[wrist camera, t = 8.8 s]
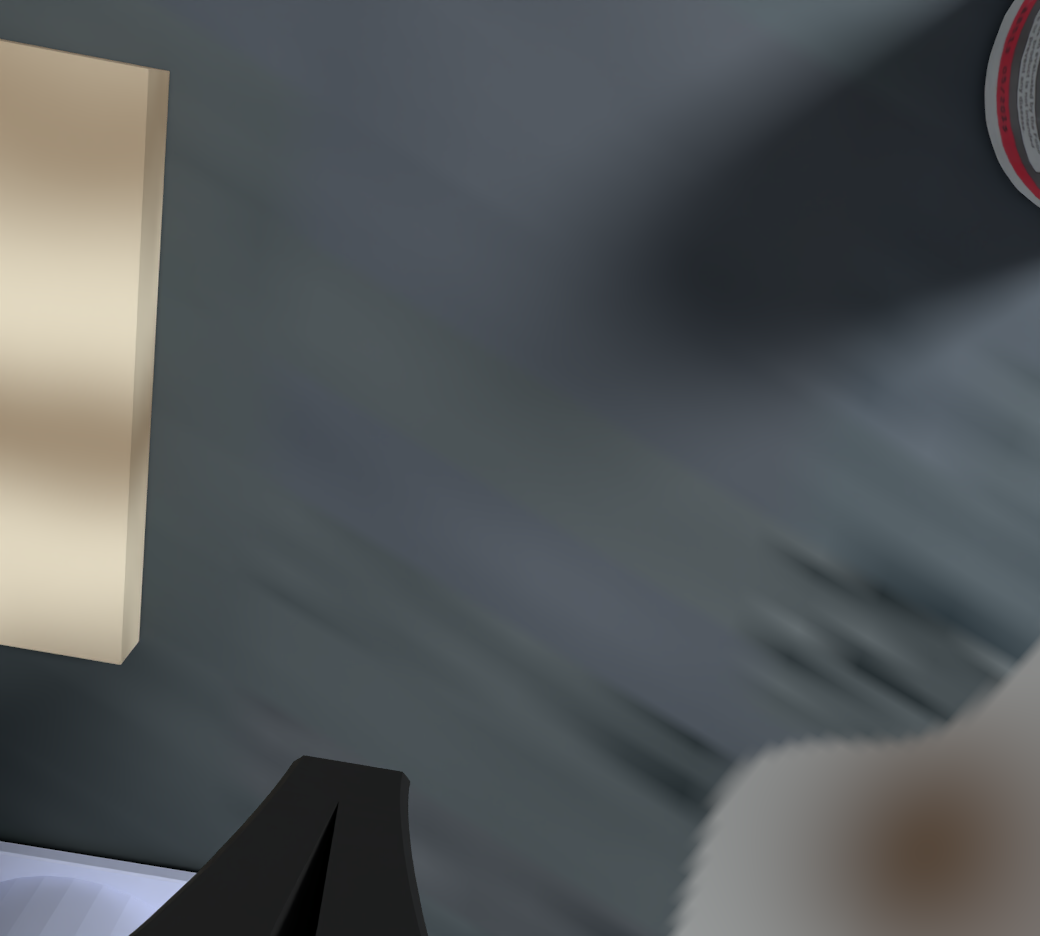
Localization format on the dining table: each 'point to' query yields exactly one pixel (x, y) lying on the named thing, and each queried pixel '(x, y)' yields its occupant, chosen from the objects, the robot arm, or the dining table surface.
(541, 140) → the dining table surface
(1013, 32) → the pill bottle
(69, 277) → the bench
